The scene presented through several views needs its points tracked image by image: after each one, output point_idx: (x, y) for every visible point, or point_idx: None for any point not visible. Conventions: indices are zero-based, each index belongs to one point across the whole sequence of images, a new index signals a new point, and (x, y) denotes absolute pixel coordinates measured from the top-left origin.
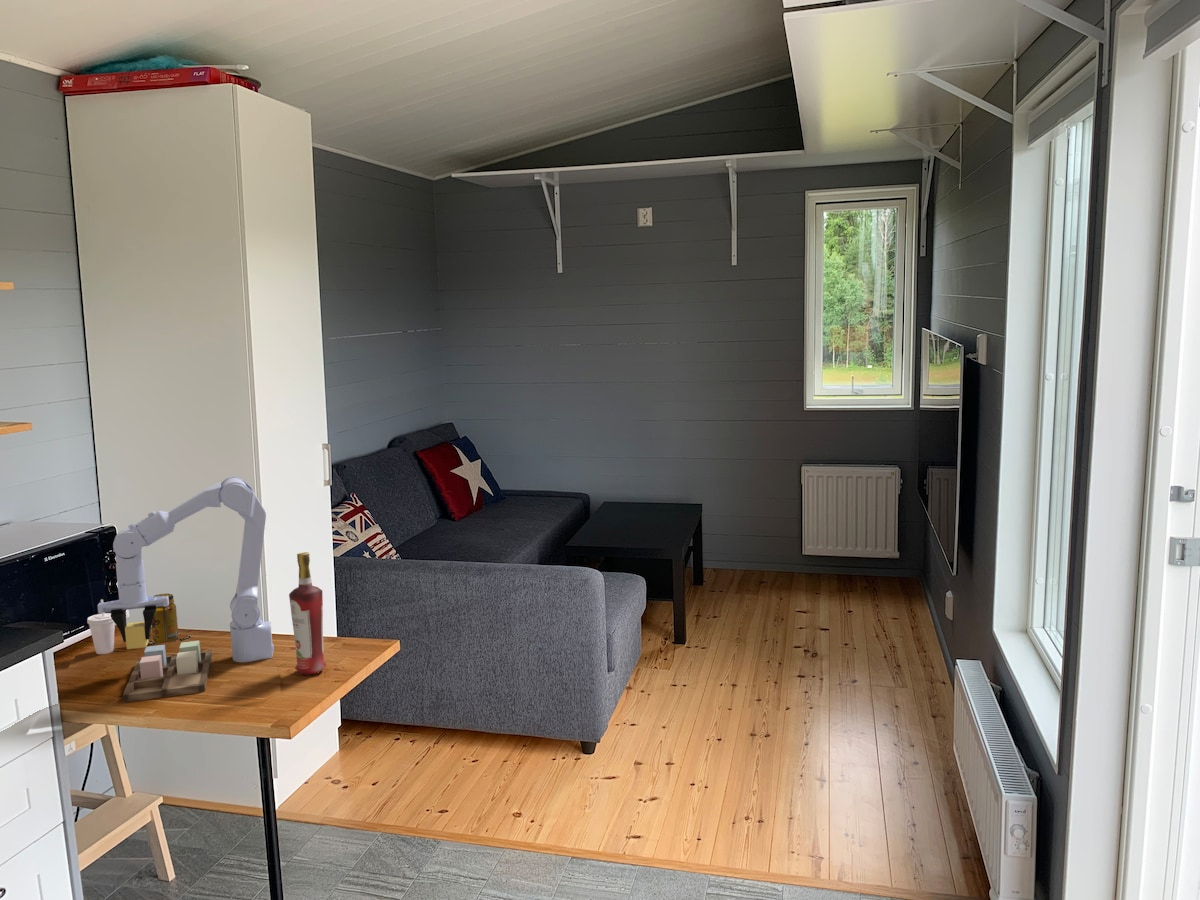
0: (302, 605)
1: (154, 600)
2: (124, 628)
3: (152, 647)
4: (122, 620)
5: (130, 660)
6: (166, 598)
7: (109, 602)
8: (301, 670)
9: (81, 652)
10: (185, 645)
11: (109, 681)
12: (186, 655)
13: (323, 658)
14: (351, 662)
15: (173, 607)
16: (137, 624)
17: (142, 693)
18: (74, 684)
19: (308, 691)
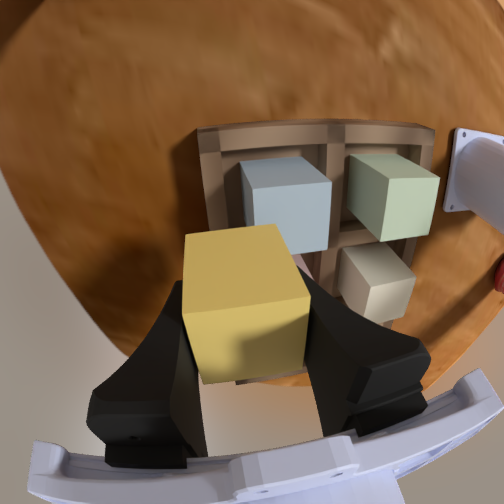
0: None
1: (415, 468)
2: (196, 374)
3: (283, 208)
4: (202, 432)
5: (142, 30)
6: (473, 434)
7: (80, 499)
8: (496, 289)
9: None
10: (399, 219)
11: (136, 230)
12: (387, 310)
13: None
14: None
15: None
16: (260, 346)
17: (273, 378)
18: (48, 234)
19: (471, 328)
